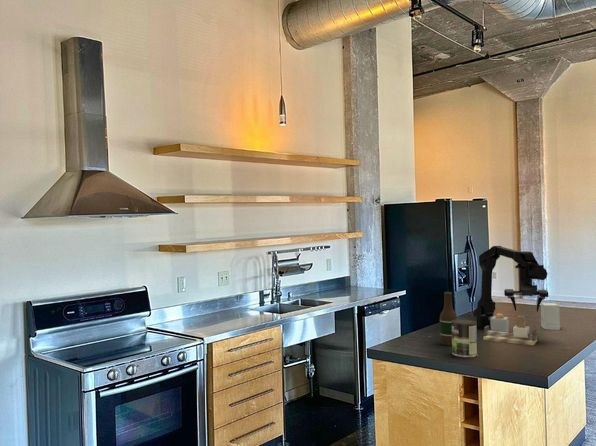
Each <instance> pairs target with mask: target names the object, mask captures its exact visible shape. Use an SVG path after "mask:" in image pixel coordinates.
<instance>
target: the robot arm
mask: <svg viewBox="0 0 596 446" xmlns="http://www.w3.org/2000/svg"><path fill="white" fill-rule="evenodd" d="M501 256H502V257H505V258H507V259H511V260H513V261H514V262H515V263H517V265H515V266H514V268H515V269H518V287H519V288H518V290H514V289H513V288H505V289H503V290H504V291H503V293H504V294H503V295H504V297H507V298H508V299H510V301H511V303H512V305H513V307H514V310H515V312H517V304H516V297H515V295H517V296H523V297H525V296H529V297H533V296H537V297H536V307H535V310H536V312H537V313H538V311H539V308H540V307H541V303H542V301H543V300H545V299H546V298H549V291H548V290H547V289H538V285H537V284H533V280H537V281H538V280H540V281H545V280H546V279H547V277H548V272H547V269H546V268H545V267H544V265H543V264H539V262H538V261H537V259H536V257H535V256H534V253H533V252H531V251H528V250H527V251H525V250H524V251H523V250H515V249H512V248H508V247H503V246H502V245H493V246H491V247H490V248H489V249H488V250H487V249H486V250H485V251H483V252H482V253H481V254H480V255H478V265H479V267H480V269H481V289H480V290H481V293H480V299H478V302H477V304H476V305H477V306H476V308H475V310H474V311H473V312H472V314H473V317H475V318H476V322H477V324H476V330H477V329H478V330H484V327H486V326H489V330H491V318H492V317H493V316H494V314H495V310H496V301H494V300H493V299H492V292H493V291H492V287H493V282H492V281H493V270H494V269H495V267H496V265H497V260H499V259H500V258H501Z"/></svg>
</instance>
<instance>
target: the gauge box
mask: <svg viewBox="0 0 596 446" xmlns="http://www.w3.org/2000/svg"><path fill="white" fill-rule="evenodd" d="M490 319H491V328H490V331H498V332H509V331H510V330H509V316H503V319H499V318H496V315H493V317H490ZM509 333H510V332H509Z"/></svg>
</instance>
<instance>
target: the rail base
mask: <svg viewBox="0 0 596 446" xmlns="http://www.w3.org/2000/svg"><path fill="white" fill-rule="evenodd" d="M482 340H483V341H488V342H499V343H506V342H507V343H508V344H509V343H510V344H517V345H526V346H535V345H536V343H537V342H538V337H537V330H536V329H533V330H532V332H531V334H530V333H529V334H528V338H524V337H514V334H513V332H498V331H491V330H490V329H489V326H486V327H484V329H483V339H482Z"/></svg>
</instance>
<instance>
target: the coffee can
mask: <svg viewBox="0 0 596 446" xmlns="http://www.w3.org/2000/svg"><path fill="white" fill-rule="evenodd" d="M451 323H452V346H451V354H452V355H453V356H455V357H460V358H474V357H477V356H478V351H477V347H478V346H477V344H478V343H477V341H478V340H477V329H476V327H477V320H473V319H467V318H457V319H454V320H452V321H451Z"/></svg>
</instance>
